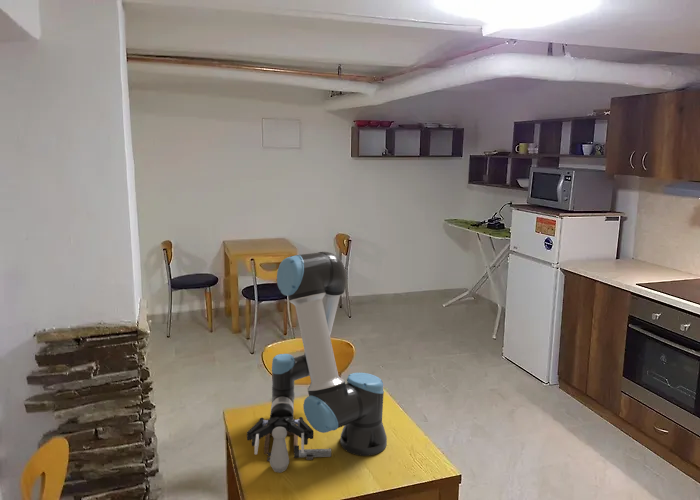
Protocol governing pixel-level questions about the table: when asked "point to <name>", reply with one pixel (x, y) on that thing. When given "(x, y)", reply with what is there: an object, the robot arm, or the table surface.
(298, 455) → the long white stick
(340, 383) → the robot arm
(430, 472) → the table surface
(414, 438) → the table surface
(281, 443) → the salt shaker
